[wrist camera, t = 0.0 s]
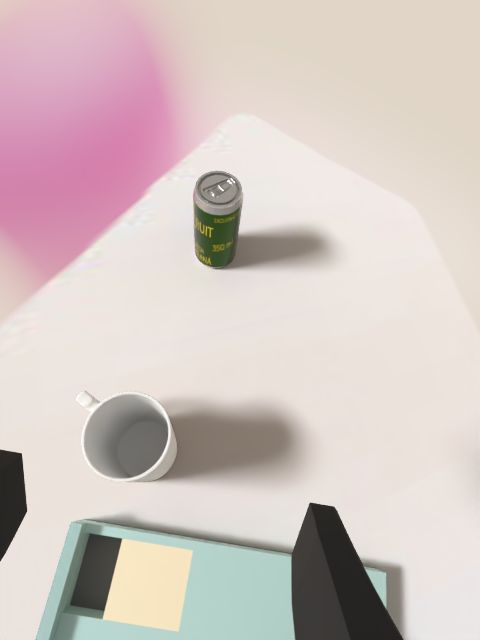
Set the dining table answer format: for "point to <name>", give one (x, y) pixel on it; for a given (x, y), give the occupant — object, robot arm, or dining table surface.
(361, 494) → the dining table surface
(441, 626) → the dining table surface
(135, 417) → the mug
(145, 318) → the dining table surface
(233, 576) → the board
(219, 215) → the beer can
